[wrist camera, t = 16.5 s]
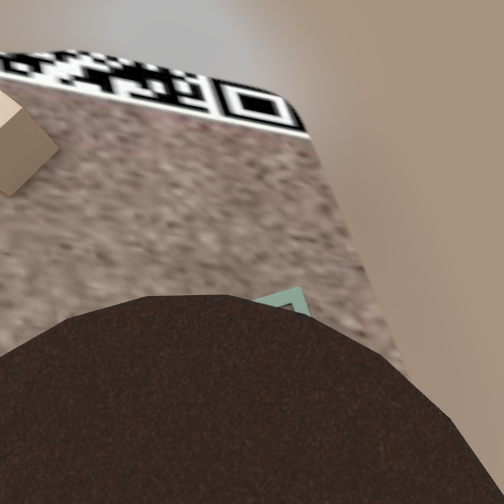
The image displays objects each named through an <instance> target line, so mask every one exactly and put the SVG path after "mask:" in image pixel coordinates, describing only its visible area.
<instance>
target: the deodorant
mask: <svg viewBox="0 0 504 504" xmlns="http://www.w3.org/2000/svg"><path fill="white" fill-rule="evenodd" d="M0 504H504V495H503V494H502V492H501V491H500V490H499V488H498V487H497V485H496V484H495V482H494V481H493V479H492V478H491V476H490V475H489V474H488V472H487V471H486V469H485V468H484V466H483V465H482V463H481V462H480V461H479V459H478V458H477V456H476V455H475V454H474V452H473V451H472V449H471V448H470V446H469V445H468V443H467V442H466V441H465V439H464V438H463V436H462V435H461V434H460V432H459V431H458V429H457V428H456V426H455V425H454V423H453V422H452V421H451V419H450V418H449V417H448V416H447V415H445V414H444V413H443V412H442V411H441V410H440V409H439V408H438V407H437V406H436V405H435V404H434V403H432V402H431V401H430V400H429V399H428V398H427V397H426V396H425V395H423V393H422V392H420V391H419V390H418V389H417V388H416V387H415V386H414V385H413V384H412V383H411V382H410V381H409V380H407V379H406V378H405V377H404V376H403V375H402V374H401V373H400V372H399V371H398V370H397V369H395V368H394V367H393V366H392V365H391V364H390V363H389V362H388V361H387V360H386V359H385V358H384V357H382V356H381V355H380V354H378V353H376V352H374V351H372V350H371V349H369V348H367V347H365V346H363V345H361V344H360V343H358V342H356V341H354V340H352V339H350V338H349V337H347V336H345V335H343V334H341V333H339V332H338V331H336V330H334V329H332V328H330V327H328V326H326V325H325V324H323V323H321V322H319V321H317V320H315V319H314V318H312V317H310V316H308V315H306V314H303V313H299V312H295V311H291V310H287V309H283V308H279V307H275V306H271V305H267V304H263V303H259V302H255V301H251V300H246V299H242V298H238V297H234V296H230V295H184V296H146V297H142V298H139V299H135V300H132V301H128V302H125V303H121V304H118V305H114V306H111V307H107V308H103V309H100V310H96V311H93V312H89V313H86V314H82V315H79V316H75V317H71V318H68V319H66V320H64V321H63V322H61V323H59V324H57V325H56V326H54V327H52V328H50V329H49V330H47V331H45V332H43V333H42V334H40V335H38V336H36V337H35V338H33V339H31V340H29V341H27V342H26V343H24V344H22V345H20V346H19V347H17V348H15V349H13V350H12V351H10V352H8V353H6V354H5V355H3V356H1V357H0Z"/></svg>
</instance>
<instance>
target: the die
mask: <svg viewBox="0 0 504 504" xmlns="http://www.w3.org/2000/svg"><path fill="white" fill-rule="evenodd" d="M59 149H60V148H59V147H58V146H57V145H56V144H55V143H54V142H53V141H52V140H51V138H50V137H49V136H48V135H47V134H46V133H45V132H44V131H43V130H42V129H41V127H40V126H39V125H38V124H37V123H36V122H35V121H34V120H33V119H32V118H31V117H30V115H29V114H28V113H27V112H26V111H25V110H24V109H23V108H22V107H21V106H20V105H18V104H17V103H16V102H14V101H13V100H12V99H11V98H9V97H8V96H7V95H5V94H4V93H3V92H1V91H0V190H1V191H2V192H4V193H5V194H7V195H8V196H10V197H11V196H12V195H13V194H14V193H15V192H16V191H17V190H18V189H19V188H20V187H21V186H22V185H23V184H24V183H25V182H26V181H27V180H28V179H29V178H30V177H31V176H32V175H33V174H34V173H35V172H36V171H37V170H38V169H39V168H41V167H42V166H43V165H44V164H45V163H46V162H47V161H48V160H49V159H50V158H51V157H52V156H53V155H54V154H55V153H56V152H57V151H58V150H59Z"/></svg>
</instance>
